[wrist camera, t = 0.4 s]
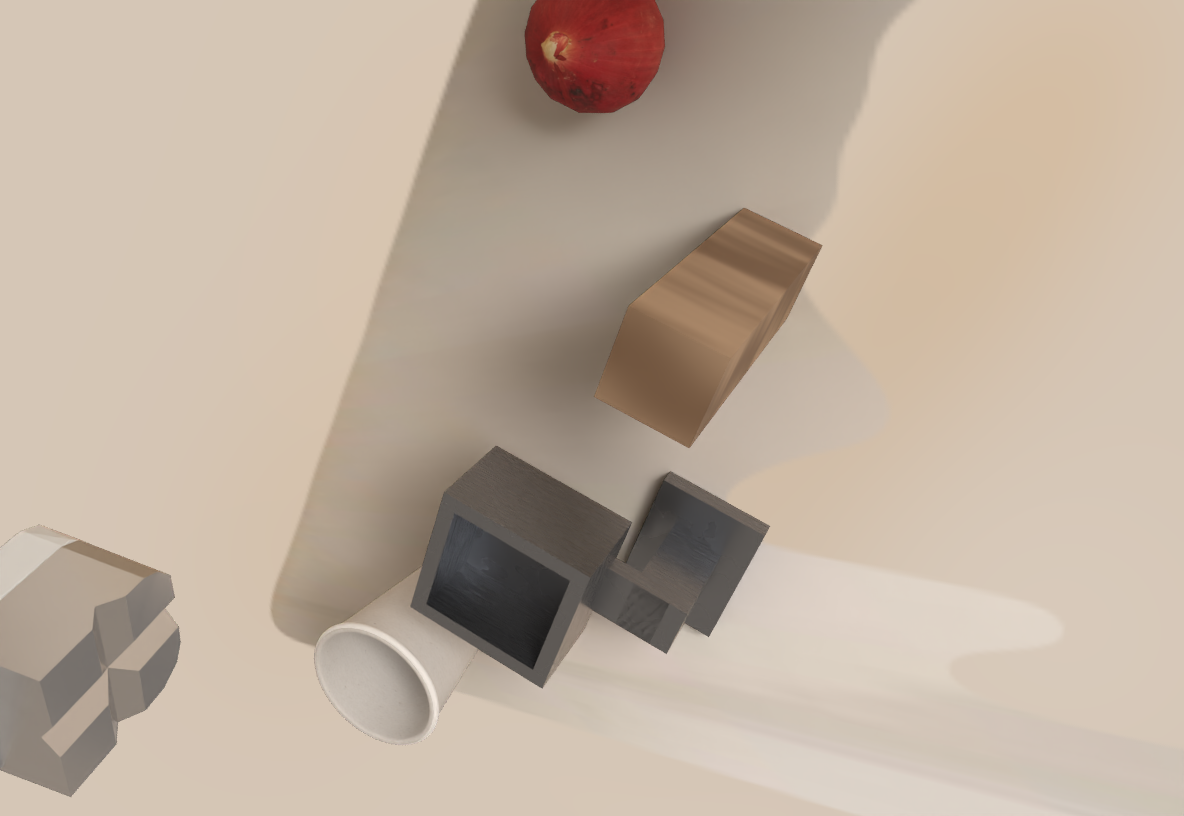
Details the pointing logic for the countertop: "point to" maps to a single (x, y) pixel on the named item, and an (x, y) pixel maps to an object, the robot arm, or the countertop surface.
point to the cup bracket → (574, 564)
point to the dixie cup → (391, 667)
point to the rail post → (705, 325)
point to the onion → (594, 51)
